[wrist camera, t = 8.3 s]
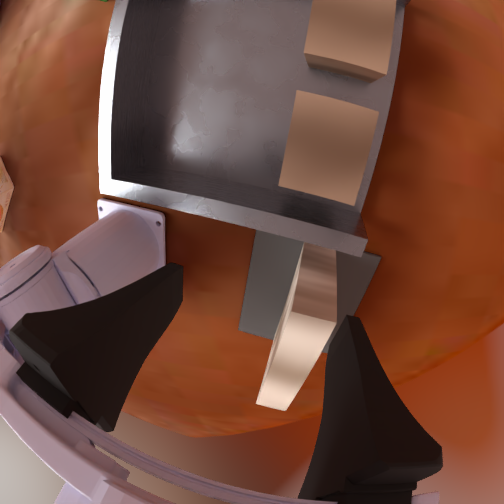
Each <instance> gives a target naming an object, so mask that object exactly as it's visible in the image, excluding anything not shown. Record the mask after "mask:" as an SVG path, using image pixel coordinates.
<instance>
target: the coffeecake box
mask: <svg viewBox="0 0 504 504" xmlns="http://www.w3.org/2000/svg"><path fill="white" fill-rule="evenodd" d="M13 190H14V185H13V183H12V181H11V179H10V177H9V175H8V173H7V171H6V168H5V166H4V163H3V161H2V159H1V156H0V232H2V230H3V226H4V222H5V218H6V214H7V210H8V206H9V203H10V199H11V196H12V193H13Z"/></svg>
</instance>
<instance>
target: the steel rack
mask: <svg viewBox="0 0 504 504" xmlns="http://www.w3.org/2000/svg"><path fill="white" fill-rule="evenodd" d="M312 2H313V0H116V2H115V6H114V10H113V14H112V19H111V23H110V28H109V33H108V39H107V44H106V51H105V57H104V64H103V73H102V82H101V93H100V107H99V138H98V149H99V181H100V193H103V194H108V195H112V196H117V197H121V198H126V199H131V200H135V201H140V202H144V203H148V204H153V205H157V206H162V207H166V208H170V209H174V210H179V211H183V212H187V213H191V214H196V215H200V216H204V217H208V218H212V219H216V220H220V221H225V222H229V223H233V224H237V225H241V226H245V227H249V228H253V229H256V230H260V231H264V232H268V233H272V234H276V235H280V236H284V237H287V238H291V239H295V240H299V241H303V242H306V243H310V244H314V245H318V246H321V247H325V248H329V249H332V250H336V251H340V252H343V253H347V254H350V255H354V256H358V257H361V256H362V254H363V251H364V249H365V246H366V244H367V241H368V237H367V234H366V230H365V227H364V224H363V220H362V217H361V214H360V213H361V210H362V207H363V204H364V201H365V198H366V195H367V191H368V188H369V185H370V181H371V178H372V175H373V171H374V168H375V164H376V161H377V157H378V153H379V150H380V146H381V142H382V138H383V134H384V130H385V126H386V121H387V117H388V112H389V108H390V103H391V98H392V93H393V88H394V83H395V78H396V72H397V66H398V59H399V53H400V46H401V38H402V29H403V20H404V8H405V6H406V5H407V4H408V3H409V2H410V0H396V10H395V20H394V29H393V37H392V44H391V51H390V58H389V64H388V70H387V75H385V76H383V77H382V78H380V79H378V80H376V81H374V82H372V83H368V82H365V81H362V80H358V79H355V78H351V77H348V76H344V75H340V74H336V73H332V72H328V71H324V70H320V69H315V68H310V67H308V64H307V61H306V58H305V55H304V48H305V42H306V36H307V31H308V25H309V19H310V13H311V8H312ZM297 90H299V91H304V92H309V93H313V94H318V95H322V96H326V97H330V98H334V99H338V100H342V101H345V102H349V103H352V104H356V105H359V106H362V107H365V108H369V109H372V110H375V111H378V112H379V115H378V120H377V124H376V128H375V132H374V136H373V140H372V144H371V148H370V152H369V156H368V160H367V163H366V167H365V171H364V174H363V178H362V181H361V184H360V188H359V191H358V195H357V198H356V201H355V204H354V206H352V205H349V204H346V203H342V202H339V201H335V200H332V199H328V198H324V197H321V196H317V195H313V194H309V193H305V192H302V191H298V190H294V189H290V188H286V187H281V186H278V184H279V179H280V174H281V169H282V164H283V159H284V154H285V149H286V144H287V139H288V134H289V128H290V123H291V118H292V113H293V107H294V102H295V97H296V91H297Z"/></svg>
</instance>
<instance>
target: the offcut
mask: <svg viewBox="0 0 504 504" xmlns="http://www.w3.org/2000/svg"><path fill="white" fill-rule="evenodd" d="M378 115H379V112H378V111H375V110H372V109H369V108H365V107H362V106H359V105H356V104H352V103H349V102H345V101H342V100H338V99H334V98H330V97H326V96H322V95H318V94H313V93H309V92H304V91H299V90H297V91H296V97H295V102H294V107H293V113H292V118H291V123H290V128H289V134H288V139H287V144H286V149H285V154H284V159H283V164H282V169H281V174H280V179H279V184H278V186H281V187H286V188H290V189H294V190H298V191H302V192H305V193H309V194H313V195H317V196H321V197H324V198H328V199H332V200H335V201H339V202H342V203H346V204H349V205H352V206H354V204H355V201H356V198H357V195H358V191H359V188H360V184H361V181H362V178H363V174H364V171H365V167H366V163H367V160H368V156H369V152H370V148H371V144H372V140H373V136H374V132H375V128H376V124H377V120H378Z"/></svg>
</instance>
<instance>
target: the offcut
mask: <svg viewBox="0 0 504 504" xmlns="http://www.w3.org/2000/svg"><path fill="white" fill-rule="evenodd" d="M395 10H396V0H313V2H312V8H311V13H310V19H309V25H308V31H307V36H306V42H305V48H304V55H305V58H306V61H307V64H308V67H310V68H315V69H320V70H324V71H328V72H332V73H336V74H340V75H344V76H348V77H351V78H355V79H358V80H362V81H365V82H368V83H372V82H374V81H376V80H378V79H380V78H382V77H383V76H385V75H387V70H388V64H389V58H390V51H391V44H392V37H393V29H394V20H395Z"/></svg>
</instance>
